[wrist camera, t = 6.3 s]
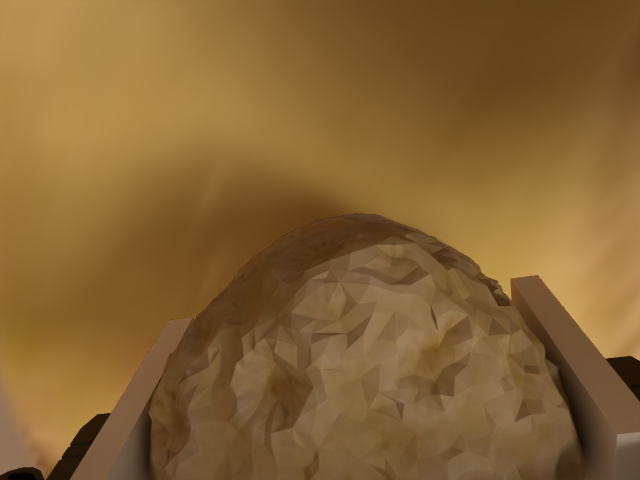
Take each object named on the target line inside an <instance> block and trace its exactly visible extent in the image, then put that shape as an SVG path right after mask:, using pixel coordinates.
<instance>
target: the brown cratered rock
mask: <svg viewBox="0 0 640 480" xmlns="http://www.w3.org/2000/svg"><path fill="white" fill-rule="evenodd" d="M149 415H150V418H151V420H152V425H151V443H150V452H149V470H148V474H149V478H150V480H584V479H585V478H586V477H587V473H586V466H585V459H584V453H583V449H582V445H581V440H580V436H579V433H578V430H577V426H576V423H575V418H574V415H573V412H572V408H571V405H570V401H569V399H568V397H567V395H566V393H565V391H564V389H563V387H562V383H561V378H560V373H559V368H558V367H557V366H556V365H554V364H553V363H551V362H550V361H549V360H547V359H546V357H545V349H544V345H543V344H542V343H541V342H540V340H539V339H538V337H537V336H535V335H534V334H533V333H532V331H531V330H530V329H529V328H528V327H527V325H526V324H525V322H524V320H523V318H522V316H521V315H520V313H519V312H518V310H517V309H516V307H515V305H514V304H513V303H512V301H511V300H510V299H509V297H508V296H507V295H506V294H505V293H504V292H503V290H502V287H501V286H500V285H498V281H496V280H494V279H491V278H488V277H486V276H485V275H484V274H482V273H481V270H480V267H479V265H477V264H476V263H475V262H474V261H473V260H472V259H471V258H470V257H468V256H466V255H464V254H462V253H460V252H458V251H457V250H455V249H454V248H452V247H450V246H448V245H446V244H444V243H442V242H440V241H438V240H437V239H436V238H435V237H431V236H428V235H426V234H425V233H423V232H422V231H419V230H417V229H414V228H411V227H409V226H406V225H403V224H401V223H398V222H395V221H392V220H389V219H387V218H385V217H383V216H380V215H376V214H358V213H357V214H351V215H344V216H338V217H333V218H327V219H322V220H316V221H315V222H313V223H311V224H309V225H307V226H305V227H302V228H300V229H297V230H295V231H292V232H290V233H288V234H286V235H283V236H282V237H280V238H279V239H277V240H276V241H275V242H273V243H272V244H271V245H269V246H268V247H267V248H266V249H264V251H263V252H261V253H259V254H258V255H256V256H255V257H254V258H252V259H251V260H250V261H249V262H248V263H247V264H246V265H245V266H243V267H242V268H241V269H240V270H239V272H238V274H237V275H236V277H235V278H234V279H233V280H232V281H231V282H230V284H229V286H228V287H227V288H226V289H225V290H224V291H222V292H221V293H220V294H219V295H218V296H217V297H216V298H215V299H214V300H213V301H212V302H211V303H210V304H209V305H208V307H207V308H206V309H205V310H204V311H202V312H201V313H200V314H199V315H197V316H196V319H195V321H194V322H193V324H192V325H191V326H190V327H189V328H188V329H187V330H186V331H185V332H184V333H183V339H182V341H181V342H180V344H179V345H178V347H177V348H176V350H175V351H174V352H173V353H170V354H169V356H168V359H167V362H166V365H165V368H164V371H163V374H162V378H161V381H160V383H159V385H158V387H157V389H156V390H155V392H154V395H153V398H152V402H151V406H150V410H149Z"/></svg>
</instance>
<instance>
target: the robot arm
mask: <svg viewBox="0 0 640 480" xmlns="http://www.w3.org/2000/svg"><path fill="white" fill-rule="evenodd" d="M511 301H512V303H513V304H514V305H515V307H516V309H517V310H518V312H519V313H520V315H521V316H522V318H523V320H524V322H525V324H526V325H527V327H528V328H529V329H530V330H531V331H532V333H533V334H534V335H535V336H537V337H538V339H539V340H540V342H541V343H542V344H543V345H544V349H545V357H546V359H547V360H549V361H550V362H551V363H553V364H554V365H556V366H557V367H558V368H559V373H560V378H561V383H562V387H563V389H564V391H565V393H566V395H567V397H568V399H569V401H570V405H571V408H572V412H573V415H574V418H575V423H576V426H577V430H578V433H579V436H580V440H581V445H582V449H583V453H584V459H585V466H586V473H587V477H586V478H585V479H584V480H640V361H639V360H637V359H635V358H634V357H632V356H626V357H617V358H607V359H605V358H604V357H603V356H602V354H601V353H600V352H599V351H598V349H597V348H596V347H595V346H594V344H593V343H592V342H591V341H590V339H589V338H588V337H587V336H586V334H585V333H584V332H583V331H582V329H581V328H580V327H579V326H578V324H577V323H576V322H575V321H574V320H573V318H572V317H571V316H570V315H569V313H568V312H567V311H566V310H565V308H564V307H563V306H562V305H561V303H560V302H559V301H558V300H557V298H556V297H555V296H554V295H553V293H552V292H551V291H550V290H549V289H548V287H547V286H546V285H545V284H544V282H543V281H542V280H541V279H540V277H539V276H538V275H536V276H527V277H519V278H511ZM193 322H194V319H193V317H191V318H183V319H174V320H169V321H168V322H167V324H166V325H165V327H164V329H163V330H162V332H161V333H160V335H159V337H158V338H157V340H156V341H155V343H154V345H153V346H152V348H151V350H150V351H149V353H148V354H147V356H146V358H145V359H144V361H143V362H142V364H141V366H140V367H139V369H138V370H137V372H136V374H135V375H134V377H133V379H132V380H131V382H130V383H129V385H128V387H127V388H126V390H125V391H124V393H123V395H122V396H121V398H120V400H119V401H118V403H117V404H116V406H115V408H114V409H113V411H112V412H111V413H106V414H97V415H96V416H95V417H94V418H93V419H91V420H90V421H89V422H88V423H87V424H86V425H84V426H83V427H82V428H81V429H80V430H79V432H78V433H77V435H76V436H75V438H74V439H73V441H72V442H71V444H70V447H68V448H67V450H66V451H65V453H64V454H63V456H62V460H59V461H58V463H57V464H56V466H55V467H54V469H53V470H52V472H51V473H50V475H49V476H48V478H47V479H46V480H150V478H149V474H148V470H149V452H150V443H151V425H152V420H151V418H150V415H149V410H150V406H151V402H152V398H153V395H154V392H155V390H156V389H157V387H158V385H159V383H160V381H161V378H162V374H163V371H164V368H165V365H166V362H167V359H168V356H169V354H170V353H173V352H174V351H175V350H176V348H177V347H178V345H179V344H180V342H181V341H182V339H183V333H184V332H185V331H186V330H187V329H188V328H189V327H190V326H191V325H192V324H193ZM0 480H44V477H43V475H42V472H41V471H40V470H38V469H36V468H34V467H23V468H19V469H15V470H12V471H8V472H6V473H5V474H2V475H0Z"/></svg>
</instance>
